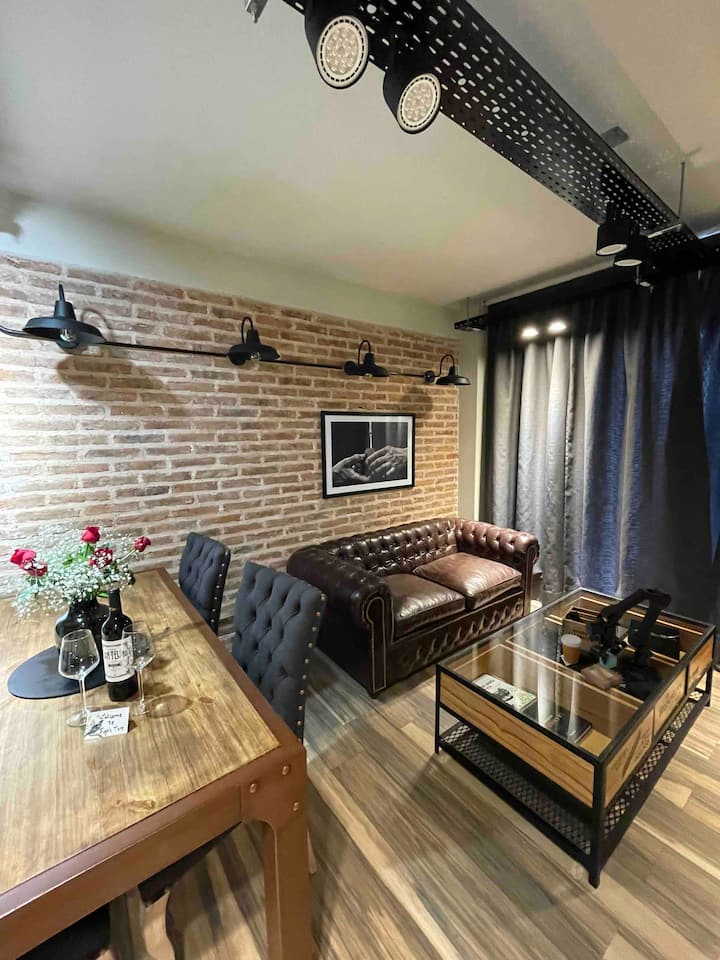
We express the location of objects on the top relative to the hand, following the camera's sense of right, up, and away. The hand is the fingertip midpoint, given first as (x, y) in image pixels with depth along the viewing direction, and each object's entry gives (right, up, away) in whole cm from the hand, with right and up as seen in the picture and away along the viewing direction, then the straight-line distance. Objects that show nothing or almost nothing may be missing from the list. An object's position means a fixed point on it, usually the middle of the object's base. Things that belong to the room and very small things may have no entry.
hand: (608, 662), depth 198 cm
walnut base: (-8, -4, -8) cm, 12 cm away
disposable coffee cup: (-15, -2, +6) cm, 16 cm away
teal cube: (0, -1, 0) cm, 1 cm away
